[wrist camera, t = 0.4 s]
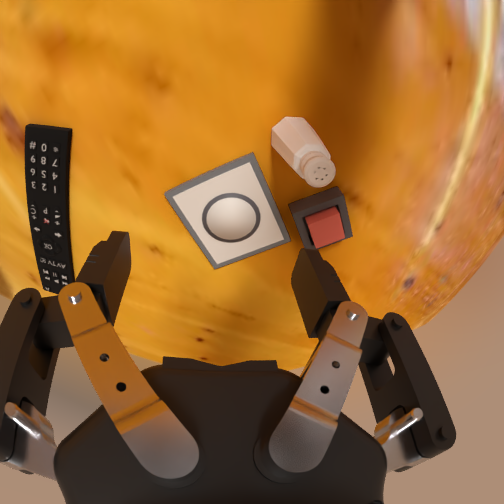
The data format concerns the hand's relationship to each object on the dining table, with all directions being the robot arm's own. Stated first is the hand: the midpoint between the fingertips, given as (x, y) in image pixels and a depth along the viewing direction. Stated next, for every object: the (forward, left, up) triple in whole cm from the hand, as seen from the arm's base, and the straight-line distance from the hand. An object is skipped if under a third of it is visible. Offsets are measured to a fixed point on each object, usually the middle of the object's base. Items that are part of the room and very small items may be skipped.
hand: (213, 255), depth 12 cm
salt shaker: (-7, +4, -22) cm, 23 cm away
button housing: (-7, +16, -21) cm, 27 cm away
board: (+4, +11, -21) cm, 24 cm away
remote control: (+30, -1, -22) cm, 37 cm away
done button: (-7, +16, -19) cm, 26 cm away
